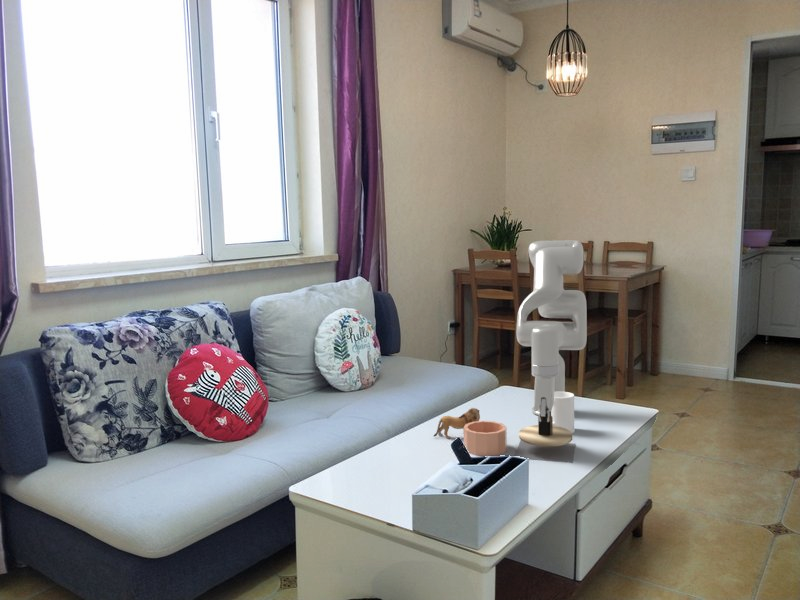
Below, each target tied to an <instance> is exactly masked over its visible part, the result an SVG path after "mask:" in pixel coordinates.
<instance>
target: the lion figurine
mask: <svg viewBox="0 0 800 600" xmlns="http://www.w3.org/2000/svg"><path fill="white" fill-rule="evenodd" d="M480 419H481V415H480V410H479V409H478V408H476V407H471V408H469V409H468V410H467V411H466V412H465V413H463V414H462V415H460V416H456V417H455V416H451V415H450V416H449V415H445V416H442V417H441V418H440V420H439V421H438V424H437V429H436V431H435V433H434V435H433V437H437V435H438V436H440V437H441V436H442V437H443V434H444V436H445V438H446V439H447V440H451V439H452V438H451V436H450V435H448V431H449V428H450V427H451V428H453V429H456V430H463V431H462V432H463V433H462V434H463V435H464V426H465V425H466V424H468V423H471V422H476V421H480ZM442 431H444V432H443V433H442Z"/></svg>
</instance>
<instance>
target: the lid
mask: <svg viewBox="0 0 800 600" xmlns="http://www.w3.org/2000/svg"><path fill="white" fill-rule="evenodd" d="M537 416H538V417H537V418H538V420H537V421H538V422H537V423H538V424H537V425H528V426H525V427H523V428H521V429H520V430H519V431H518V437H519V439H520V441H521V440H522V441H523V442H525V443H528V444H531V445H536V446H547V447H551V446H561V445H565V444H567V443H571V442H572V441H573V433H571V432H570V431H569V430H567V429H565V428H562V427H558V426H553V417H552V416H550V415H549V421H550V435H540V434H539V415H537Z"/></svg>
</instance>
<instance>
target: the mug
mask: <svg viewBox="0 0 800 600" xmlns="http://www.w3.org/2000/svg"><path fill="white" fill-rule="evenodd" d="M551 416H552V417H553V426H558V427H562V428H565V429H567V430H569V431H570V432H571V433H572V434H573V433H575V432H576V431H575V393H573V392H568V391H565V392H562V391H557V392H554V403H553V407H552V411H551Z"/></svg>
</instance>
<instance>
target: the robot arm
mask: <svg viewBox="0 0 800 600" xmlns="http://www.w3.org/2000/svg"><path fill="white" fill-rule="evenodd" d="M527 251H528V258H529V260H530V263H531V265H532V267H533V288H532V289H533V291H532V292H531V293H529V294H528V295H527V296H526V297H525V298H524V300H523V301H522V302H521V304H520V306H519V308H518V311H517V316H516V331H515V333H516V340H517V342H518V343H519V345H521V346H522V347H531V375H532V377H534V394H533V396H534V397H533V399H534V400H533V406H532V408H531V413H532V414H534V415H536V416H539V434H540V435H550V421H549V415H550V416H551V411H552V407H553V403H554V392H557V391H562V392H566V386H565V385H566V384H565V382H566V376H565V375H566V374H565V373H566V372H565V371H566V364H565V363H566V362H565V360H564V358H563V357H562V356H561V354H560V352H559V351H580V350H584V349H585V347H586V345H587V340H588V339H587V337H588V336H587V335H588V332H587V330H588V327H587V325H588V324H587V321H588V320H587V316H588V315H587V314H588V313H587V306H588V305H587V299H586V295H585V294H584V292H583V291H581V290H577V289H565V288H564V275H579V274H580V273H581V272H582V271H583V267H584V252H585V251H584V246H583V244H582V242H581V241H580V240H577V239H564V240H559V239H553V240H552V239H551V240H549V239H548V240H537V241H533V242H531V243H530V244H529V246H528V250H527ZM536 309H537V311H538V314H539V315H540V316H541V317H543V318H548V319H570V320H572V321H558V320H557V321H556V320H527V318H528V317H529V315H530V314H531V312H533V311H534V310H536Z"/></svg>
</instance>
